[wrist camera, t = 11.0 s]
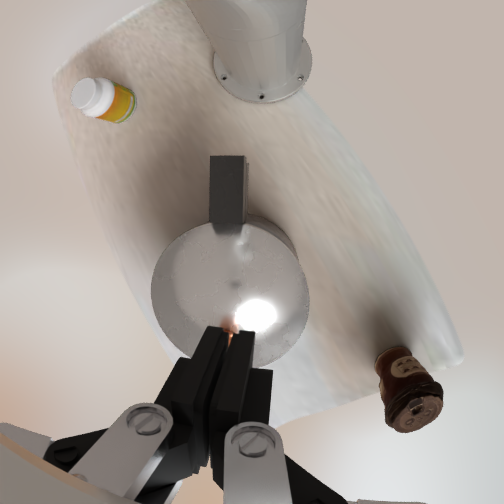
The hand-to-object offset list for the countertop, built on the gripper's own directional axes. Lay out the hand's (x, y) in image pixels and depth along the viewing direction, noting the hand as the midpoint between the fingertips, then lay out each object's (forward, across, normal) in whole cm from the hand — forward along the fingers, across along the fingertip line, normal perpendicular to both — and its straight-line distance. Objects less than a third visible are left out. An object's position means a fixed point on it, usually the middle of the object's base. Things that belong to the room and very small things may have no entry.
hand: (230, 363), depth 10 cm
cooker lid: (+19, +3, +3) cm, 19 cm away
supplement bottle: (+30, +22, -16) cm, 40 cm away
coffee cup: (+29, -22, +19) cm, 41 cm away
